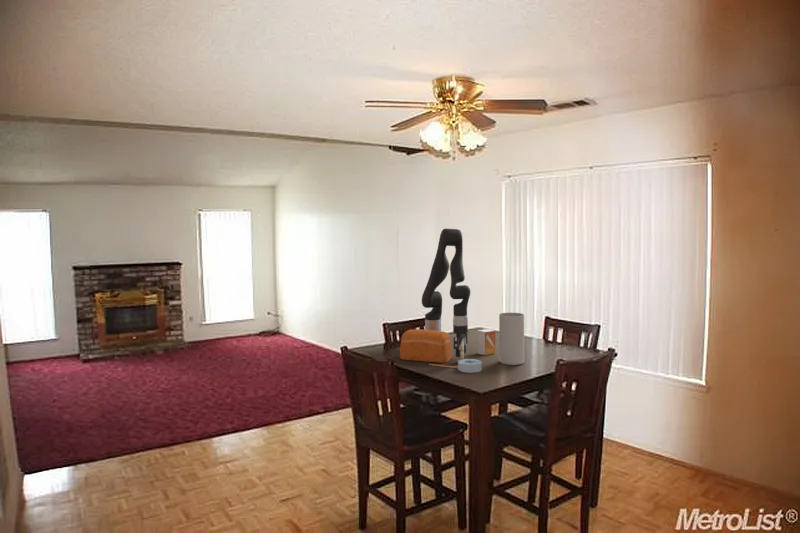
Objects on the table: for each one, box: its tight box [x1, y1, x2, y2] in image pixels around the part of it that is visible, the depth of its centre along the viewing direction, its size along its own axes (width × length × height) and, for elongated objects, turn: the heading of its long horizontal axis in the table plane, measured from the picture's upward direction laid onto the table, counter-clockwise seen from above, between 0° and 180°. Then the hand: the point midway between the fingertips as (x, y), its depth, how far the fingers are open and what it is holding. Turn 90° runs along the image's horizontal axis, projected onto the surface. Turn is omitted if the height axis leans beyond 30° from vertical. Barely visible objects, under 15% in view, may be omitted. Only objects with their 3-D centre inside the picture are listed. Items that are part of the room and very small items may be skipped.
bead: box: [457, 358, 483, 374], centre depth 270 cm, size 11×11×4 cm
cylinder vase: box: [498, 312, 525, 366], centre depth 282 cm, size 12×12×25 cm
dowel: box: [456, 340, 465, 364], centre depth 283 cm, size 4×4×12 cm
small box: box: [476, 328, 496, 356], centre depth 303 cm, size 8×6×13 cm
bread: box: [399, 328, 452, 364], centre depth 293 cm, size 14×26×16 cm, turn 67°
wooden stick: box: [428, 363, 458, 369], centre depth 276 cm, size 17×1×1 cm, turn 63°
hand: (460, 355), depth 283 cm, fingers open, 8 cm apart
